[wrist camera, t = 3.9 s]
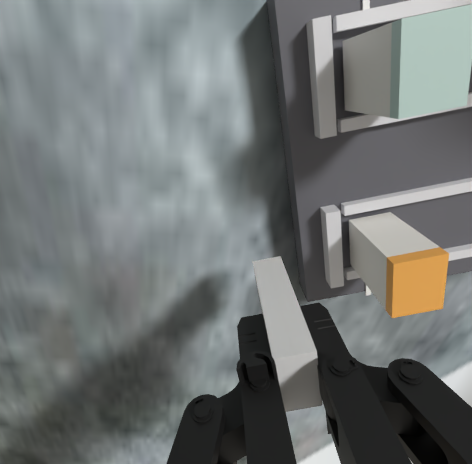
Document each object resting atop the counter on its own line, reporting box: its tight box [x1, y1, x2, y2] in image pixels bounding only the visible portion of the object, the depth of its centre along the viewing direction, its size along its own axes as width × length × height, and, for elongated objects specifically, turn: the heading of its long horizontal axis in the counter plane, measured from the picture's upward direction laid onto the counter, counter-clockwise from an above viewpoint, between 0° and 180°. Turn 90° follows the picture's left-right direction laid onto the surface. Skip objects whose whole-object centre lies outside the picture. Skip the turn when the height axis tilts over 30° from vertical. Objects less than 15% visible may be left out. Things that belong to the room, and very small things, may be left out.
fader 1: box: [342, 4, 472, 119], centre depth 13 cm, size 2×3×5 cm
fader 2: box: [349, 212, 449, 318], centre depth 16 cm, size 2×3×5 cm
